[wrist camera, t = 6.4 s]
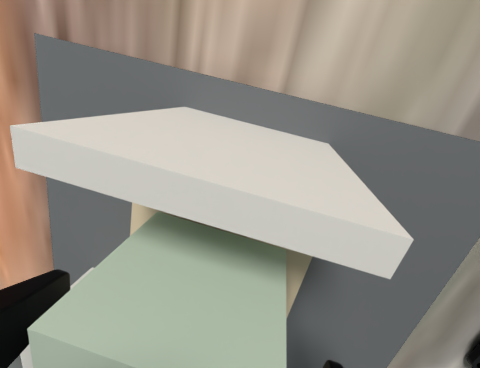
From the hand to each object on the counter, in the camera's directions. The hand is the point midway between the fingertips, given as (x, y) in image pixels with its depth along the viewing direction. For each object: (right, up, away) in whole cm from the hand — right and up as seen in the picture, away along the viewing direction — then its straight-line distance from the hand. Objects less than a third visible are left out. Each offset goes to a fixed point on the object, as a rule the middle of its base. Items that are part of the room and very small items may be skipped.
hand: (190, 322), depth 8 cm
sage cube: (0, +1, +2) cm, 2 cm away
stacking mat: (+1, 0, +7) cm, 7 cm away
